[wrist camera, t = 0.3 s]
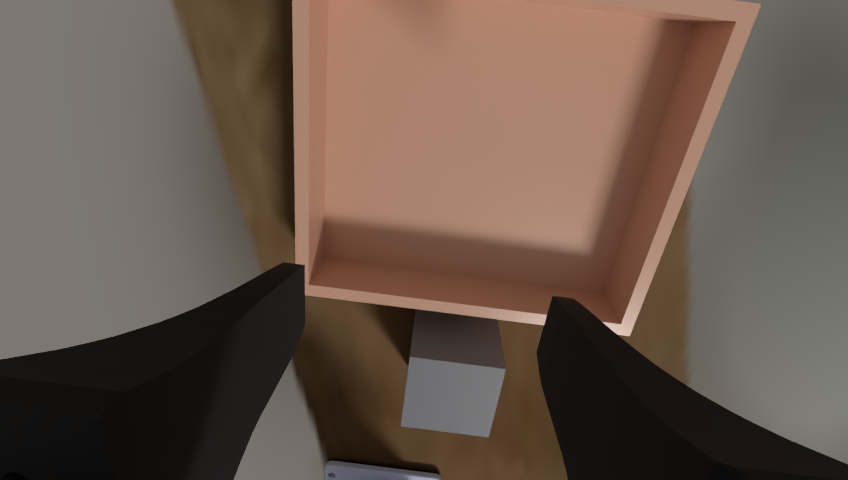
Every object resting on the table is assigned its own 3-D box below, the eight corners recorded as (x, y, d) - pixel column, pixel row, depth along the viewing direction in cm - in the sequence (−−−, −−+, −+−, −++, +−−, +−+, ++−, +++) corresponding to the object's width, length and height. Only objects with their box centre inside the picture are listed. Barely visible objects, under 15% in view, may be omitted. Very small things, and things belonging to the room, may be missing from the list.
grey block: (482, 375, 26) (488, 437, 22) (408, 365, 26) (400, 426, 22) (496, 313, 24) (505, 369, 20) (416, 303, 24) (409, 356, 20)
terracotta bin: (608, 301, 23) (629, 336, 21) (313, 263, 23) (295, 293, 21) (712, 9, 17) (761, 3, 15) (315, -42, 17) (291, -57, 15)
